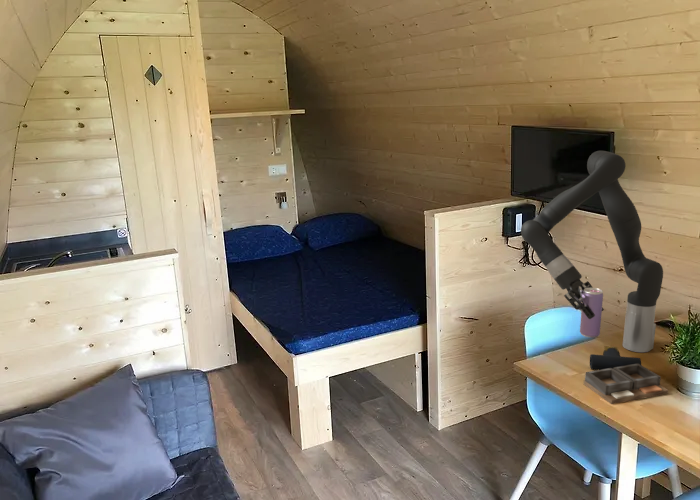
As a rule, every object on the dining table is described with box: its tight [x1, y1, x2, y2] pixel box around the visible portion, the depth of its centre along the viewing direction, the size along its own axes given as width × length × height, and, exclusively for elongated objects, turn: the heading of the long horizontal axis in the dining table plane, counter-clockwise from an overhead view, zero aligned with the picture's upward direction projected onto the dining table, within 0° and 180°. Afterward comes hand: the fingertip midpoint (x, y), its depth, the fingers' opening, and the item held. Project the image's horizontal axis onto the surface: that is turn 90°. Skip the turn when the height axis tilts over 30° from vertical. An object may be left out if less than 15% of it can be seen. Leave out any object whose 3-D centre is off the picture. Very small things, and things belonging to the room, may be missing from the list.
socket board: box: [583, 364, 669, 405], centre depth 182 cm, size 20×13×4 cm, turn 105°
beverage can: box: [579, 287, 604, 338], centre depth 186 cm, size 6×6×15 cm
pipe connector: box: [589, 345, 642, 371], centre depth 198 cm, size 12×5×15 cm
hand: (596, 314), depth 185 cm, fingers closed on beverage can, 6 cm apart
